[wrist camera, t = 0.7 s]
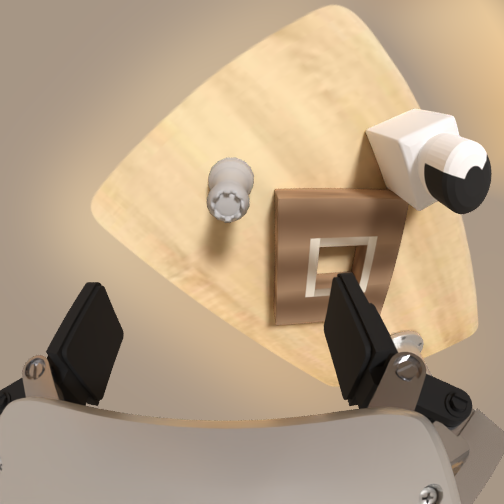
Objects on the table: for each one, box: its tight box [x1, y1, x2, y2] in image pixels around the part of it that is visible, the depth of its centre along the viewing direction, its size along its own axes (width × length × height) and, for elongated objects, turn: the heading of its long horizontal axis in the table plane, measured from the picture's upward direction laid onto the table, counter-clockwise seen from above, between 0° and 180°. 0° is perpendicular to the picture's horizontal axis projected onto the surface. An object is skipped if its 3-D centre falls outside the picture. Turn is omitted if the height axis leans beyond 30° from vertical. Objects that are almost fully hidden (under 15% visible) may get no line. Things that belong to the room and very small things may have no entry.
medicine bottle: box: [366, 109, 491, 214], centre depth 20 cm, size 7×7×12 cm
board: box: [274, 188, 409, 325], centre depth 30 cm, size 16×14×3 cm
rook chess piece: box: [207, 158, 254, 223], centre depth 23 cm, size 4×4×8 cm
